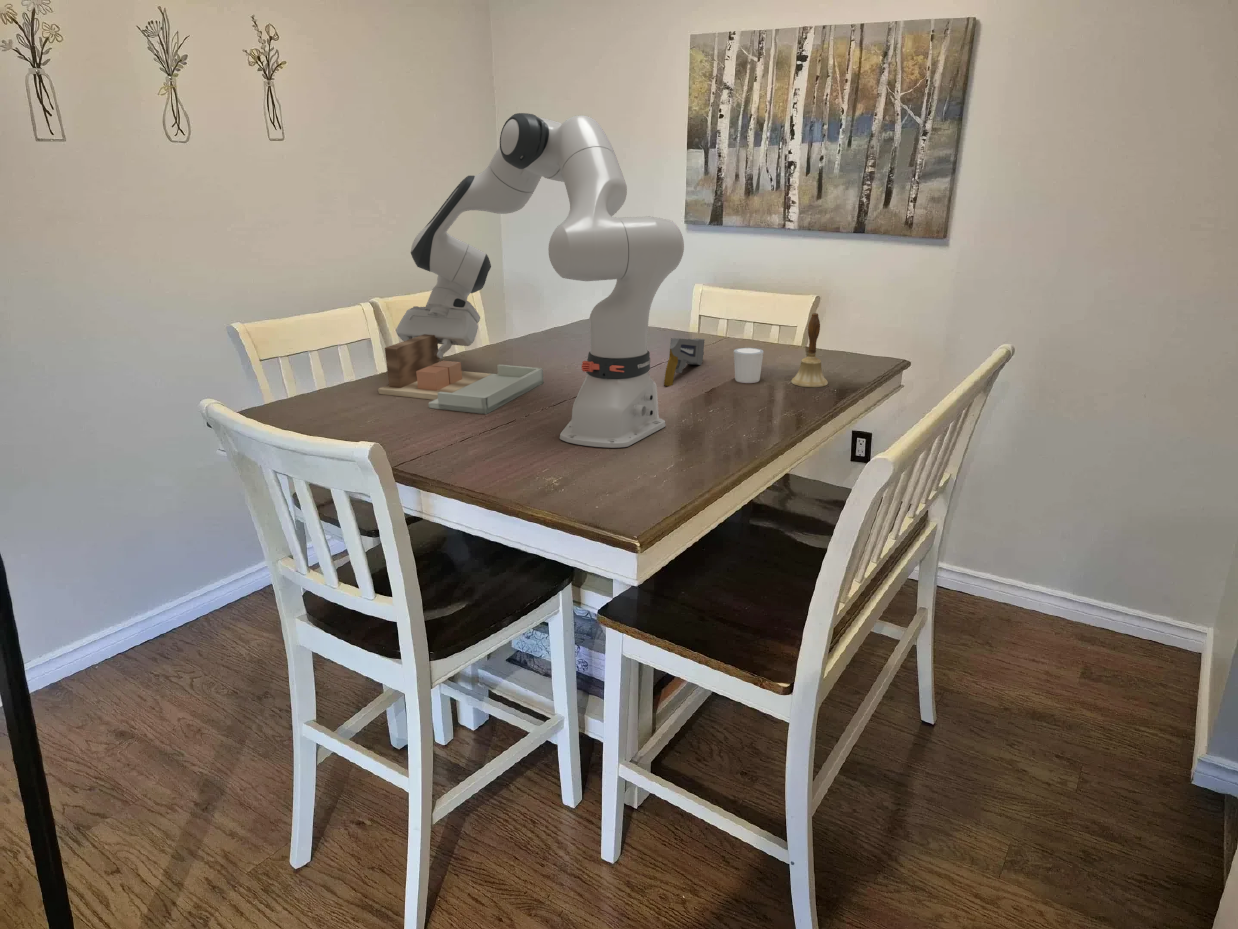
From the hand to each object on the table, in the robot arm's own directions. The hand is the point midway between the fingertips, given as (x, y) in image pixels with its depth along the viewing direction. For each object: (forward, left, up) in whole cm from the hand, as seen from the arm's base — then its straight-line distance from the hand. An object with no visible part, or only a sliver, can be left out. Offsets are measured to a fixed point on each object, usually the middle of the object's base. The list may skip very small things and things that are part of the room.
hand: (425, 356), depth 197 cm
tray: (-7, -21, -5) cm, 23 cm away
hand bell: (+26, -86, -6) cm, 90 cm away
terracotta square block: (-4, -8, -4) cm, 10 cm away
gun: (+25, -56, -6) cm, 62 cm away
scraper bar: (-5, 0, -4) cm, 6 cm away
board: (-5, -6, -5) cm, 9 cm away
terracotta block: (-9, -8, -4) cm, 13 cm away
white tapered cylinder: (+24, -72, -6) cm, 76 cm away
